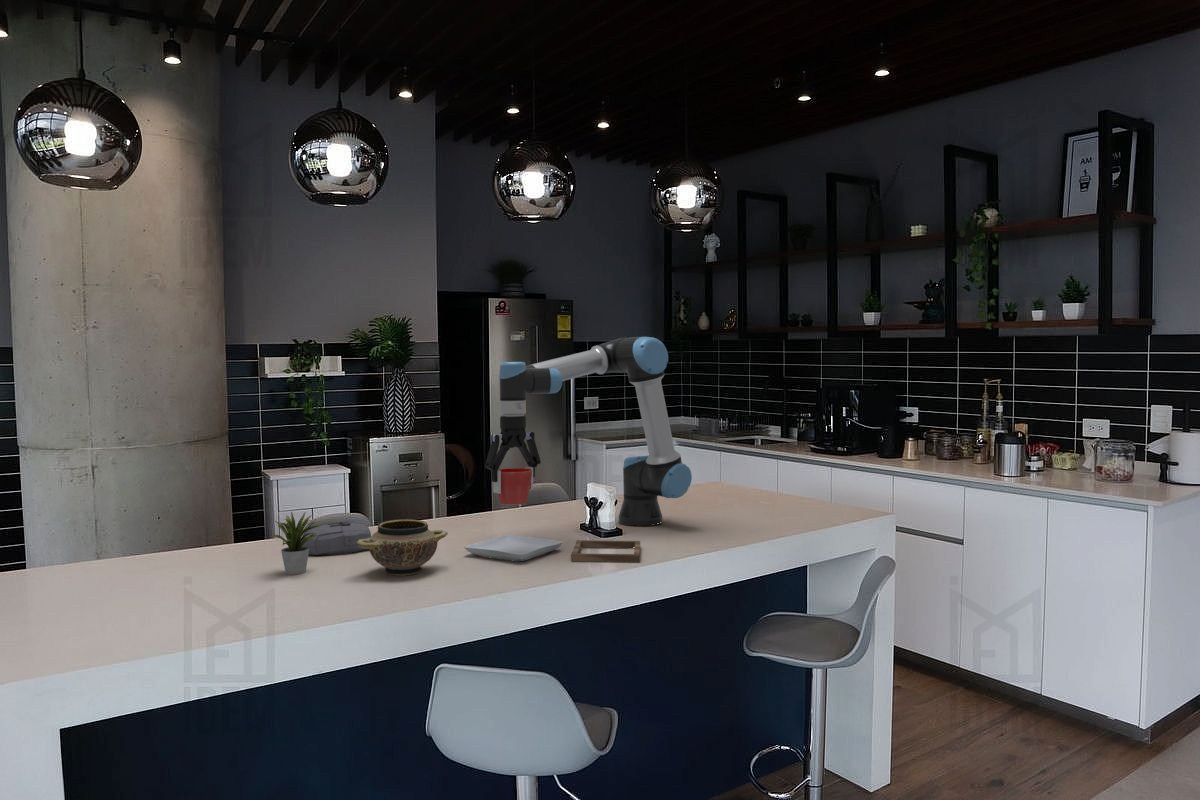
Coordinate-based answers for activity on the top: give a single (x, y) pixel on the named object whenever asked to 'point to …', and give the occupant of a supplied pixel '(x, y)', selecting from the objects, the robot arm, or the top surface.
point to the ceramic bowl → (402, 545)
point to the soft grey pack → (336, 538)
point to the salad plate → (513, 547)
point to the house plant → (295, 544)
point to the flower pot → (515, 485)
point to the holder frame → (605, 557)
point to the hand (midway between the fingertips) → (513, 491)
